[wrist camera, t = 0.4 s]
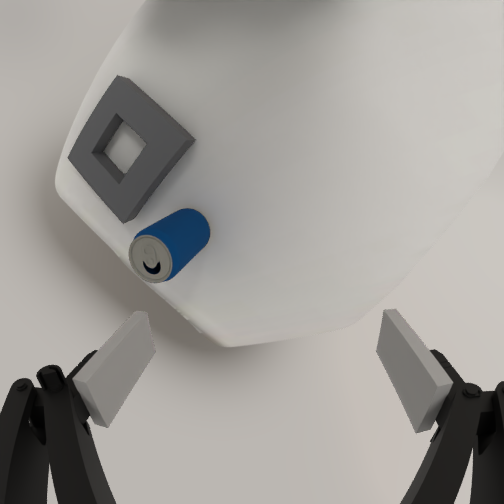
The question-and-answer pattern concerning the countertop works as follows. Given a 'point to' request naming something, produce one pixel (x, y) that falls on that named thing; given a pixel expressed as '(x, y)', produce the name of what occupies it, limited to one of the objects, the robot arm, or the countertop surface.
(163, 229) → the beverage can
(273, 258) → the countertop surface
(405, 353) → the robot arm
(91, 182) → the socket plate
